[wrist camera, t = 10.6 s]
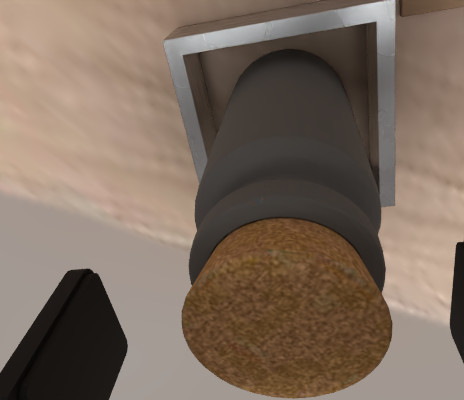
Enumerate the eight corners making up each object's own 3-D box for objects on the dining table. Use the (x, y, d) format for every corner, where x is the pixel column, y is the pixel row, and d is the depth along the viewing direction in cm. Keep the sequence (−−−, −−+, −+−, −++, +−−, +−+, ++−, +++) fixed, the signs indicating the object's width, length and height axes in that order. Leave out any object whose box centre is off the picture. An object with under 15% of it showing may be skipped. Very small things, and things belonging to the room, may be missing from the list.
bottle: (365, 124, 22) (463, 377, 10) (268, 175, 25) (245, 434, 12) (310, 23, 20) (343, 179, 8) (209, 88, 22) (102, 295, 10)
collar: (381, -11, 19) (395, -2, 17) (383, 176, 24) (395, 205, 21) (178, 27, 21) (162, 41, 18) (217, 194, 26) (209, 222, 23)
